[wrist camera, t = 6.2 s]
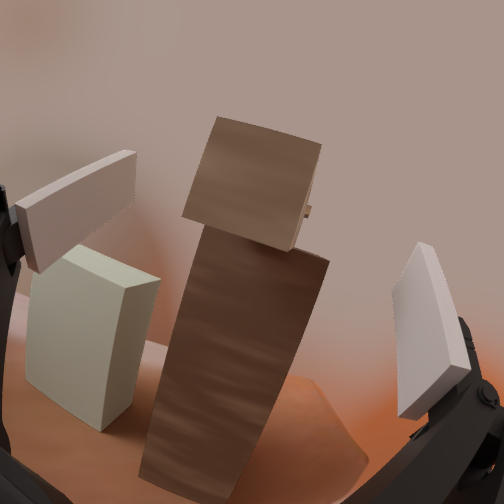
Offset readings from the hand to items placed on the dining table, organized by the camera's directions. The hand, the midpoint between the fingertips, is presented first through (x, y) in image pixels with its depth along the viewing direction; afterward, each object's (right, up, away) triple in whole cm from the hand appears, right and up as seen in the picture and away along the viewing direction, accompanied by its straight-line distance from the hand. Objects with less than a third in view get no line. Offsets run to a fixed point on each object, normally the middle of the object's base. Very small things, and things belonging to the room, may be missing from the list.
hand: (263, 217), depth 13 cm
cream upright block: (-25, -22, +23) cm, 41 cm away
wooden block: (-7, -28, +19) cm, 35 cm away
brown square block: (+1, -1, +13) cm, 13 cm away
